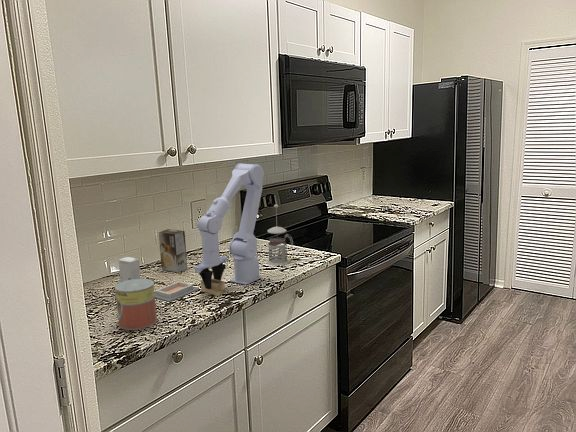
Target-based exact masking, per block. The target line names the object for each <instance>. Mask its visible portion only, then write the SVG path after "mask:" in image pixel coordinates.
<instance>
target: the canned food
mask: <svg viewBox="0 0 576 432" xmlns="http://www.w3.org/2000/svg"><path fill="white" fill-rule="evenodd" d="M114 289H115V301H116V310H117V319H118V324H117V325H118V327H119V328H120V329H122V330H127V331H136V330H143V329H146V328H149V327H151V326H153V325H154V324H156V323H157V321H158V317H157V308H156V307H157V306H156V305H157V304H156V298H155V281H154V280H152V279H150V278H143V277H142V278H141V277H140V278H139V279H130V280H126V281H123V282H120V281H119V282H118V283H117V284H115V286H114Z"/></svg>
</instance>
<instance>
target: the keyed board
mask: <svg viewBox="0 0 576 432" xmlns="http://www.w3.org/2000/svg"><path fill="white" fill-rule="evenodd" d="M199 290H200V287H199V288H198V287H194V284H192V283H187V282H183V281H176V282H174V283H171V284H169V285H166V286H163V287H161V288H159V289H158V288H157V289H156V290H155V289H154V292H155V299H158V300H161V301H164V302H168V303H170V302H173V301H175V300H177V299H180V298H182V297H184V296H187V295H189V293H190V294H192V293H194V292H196V291H199Z"/></svg>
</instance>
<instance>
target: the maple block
mask: <svg viewBox="0 0 576 432" xmlns="http://www.w3.org/2000/svg"><path fill="white" fill-rule="evenodd" d="M200 290H201V292H203V293H206V294H209V295H213V296H220V295H222V294H224V293H226V282H225V280H222V279H221V280H217V279H214V277H212V279H211V289H206V288H205V285H204V282H203V280H202V279H201V280H200Z"/></svg>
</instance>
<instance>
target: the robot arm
mask: <svg viewBox="0 0 576 432" xmlns="http://www.w3.org/2000/svg"><path fill="white" fill-rule="evenodd" d="M231 174H232V175H231V177H230V180H229V181H228V183H227V185H226V187H225V188H224V191H223V193H222V194H221V196H220V197H216V198H215V199H213V201H212V204H211V205H210V207H209V209H208V210H207V212H206V213H205V215H203V216H200V218H199V220H198V222H197V224H196V226H197V229H198V230H199V231H200V236H201V246H202V260H201V262H200V263H199V264H197V265H196V266H194V273H197V274H199V275H200V277H201V280H203V282H204V285H205V288H206V289H211V279H212V278H213V279H217V280H221V281H222V277H223V274H224V271H225V270H226V268H227V267H226V266H227V265H226V264H225V263H228V261H229V260H228V257H227V256H225V255H223V256H220V245H219V243H220V242H219V240H220V239H219V231H221V229H222V223H223V219H224V217H225V216H226V213H227V212H228V211H229V209H230V208H231V204H230V202H231V200H232V199H233V197H235V195H236V194H237V192H238V191H239V190H240V188H241V187H242V186H244V188H245V189H246V194H245V195H246V196H245V200H244V205H243V210H242V212H241V213H242V214H241V218H240V223H239V227H238V231H237V232H236V233H234V234H233V236H232V239H231V241H230V242H229V245H228V250H229V253H230V254H231V255H232V258H233V267H234V269H233V270H234V278H231V279H229V282H232V283H237V284H241V285H245V286H246V285H248V284H251V283H253V282H255V281H257V280H260V279H261V278H262V276H261V275H260V263H259V262H260V261H259V258H258V257H257V256H256V255H257V253H258V245H257V244H258V239H257V237H256V236H255V234H254V230H255V228H256V227H255V226H256V223H257V216H258V213H259V212H258V211H259V207H260V202H261V197H262V193H263V181H264V175H265V171H264V169H263V167H262V166H261V165H260V164H258V163H255V164H252V163H240V162H239V163H237V164H236V165H235V167H234V169H233V170H232V171H231ZM223 263H224V264H223ZM210 269H211V270H210Z"/></svg>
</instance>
